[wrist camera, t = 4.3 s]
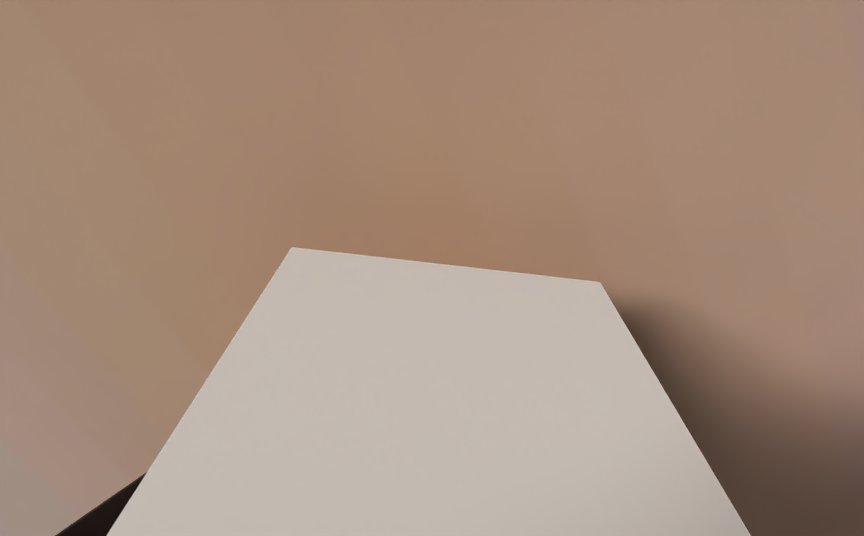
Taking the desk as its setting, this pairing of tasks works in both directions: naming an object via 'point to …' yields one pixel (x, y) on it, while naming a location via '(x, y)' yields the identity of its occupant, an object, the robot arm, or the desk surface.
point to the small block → (429, 415)
